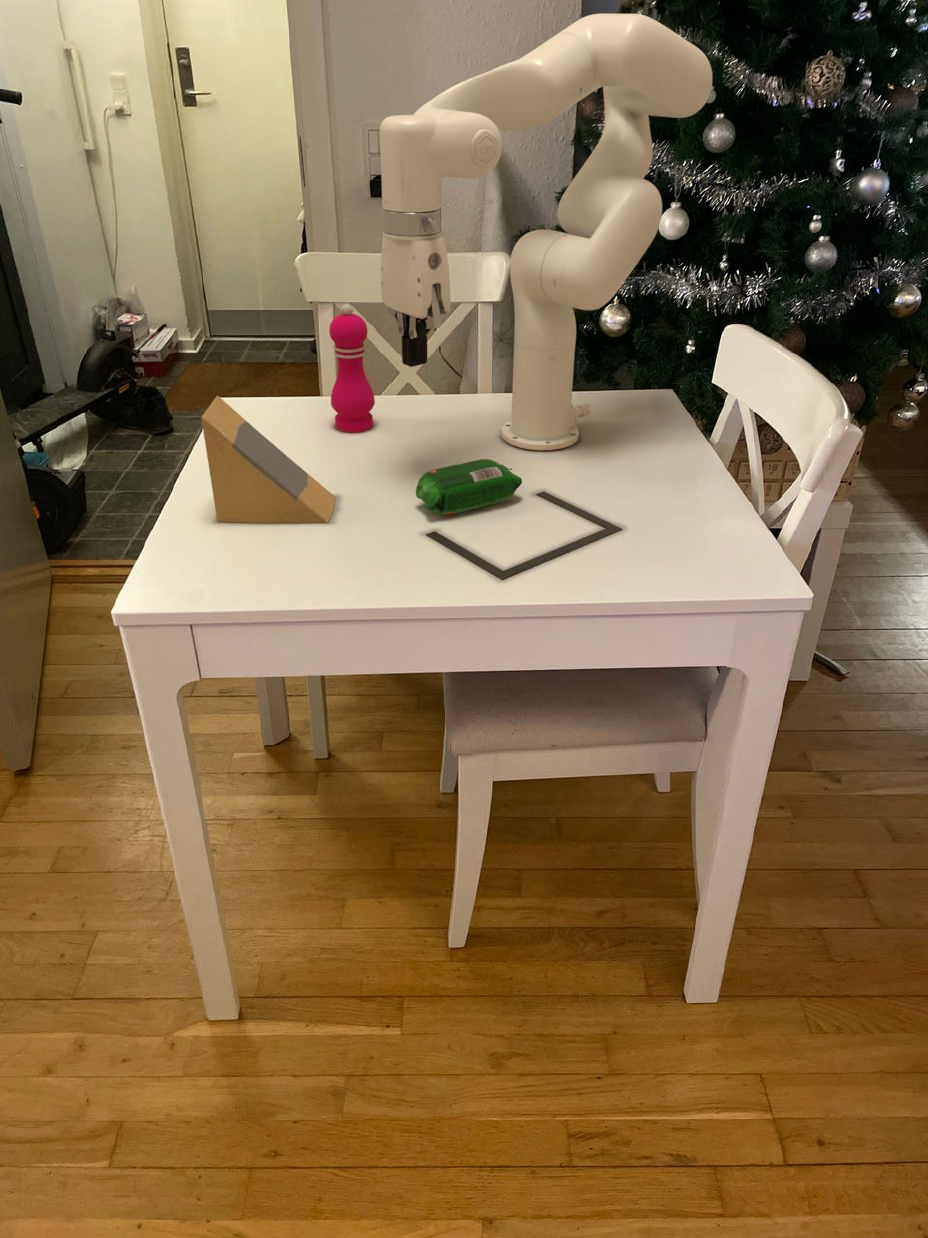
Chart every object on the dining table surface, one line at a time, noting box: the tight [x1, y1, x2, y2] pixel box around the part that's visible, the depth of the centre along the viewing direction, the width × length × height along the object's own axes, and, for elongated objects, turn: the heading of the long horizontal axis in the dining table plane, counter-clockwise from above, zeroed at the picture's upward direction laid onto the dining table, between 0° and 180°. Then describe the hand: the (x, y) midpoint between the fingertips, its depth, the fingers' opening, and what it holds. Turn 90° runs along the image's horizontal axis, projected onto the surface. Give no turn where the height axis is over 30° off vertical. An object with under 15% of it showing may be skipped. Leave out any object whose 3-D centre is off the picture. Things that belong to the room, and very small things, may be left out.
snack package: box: [415, 458, 523, 516], centre depth 132 cm, size 7×16×5 cm, turn 118°
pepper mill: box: [328, 303, 376, 434], centre depth 153 cm, size 7×7×20 cm
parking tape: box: [425, 491, 623, 581], centre depth 126 cm, size 22×15×1 cm
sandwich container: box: [201, 395, 336, 524], centre depth 127 cm, size 9×15×15 cm, turn 90°
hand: (414, 363), depth 132 cm, fingers closed
